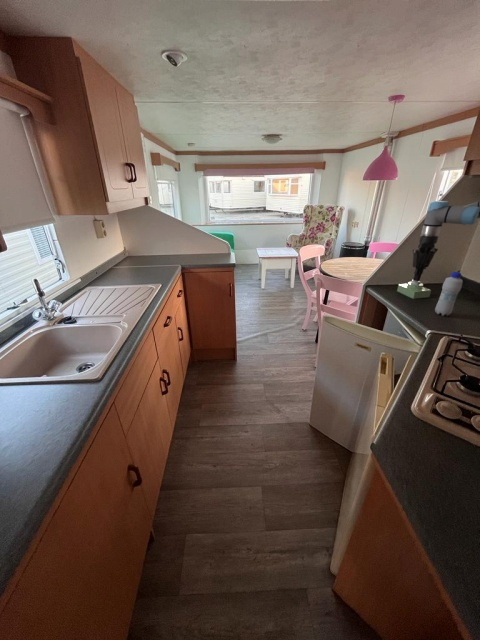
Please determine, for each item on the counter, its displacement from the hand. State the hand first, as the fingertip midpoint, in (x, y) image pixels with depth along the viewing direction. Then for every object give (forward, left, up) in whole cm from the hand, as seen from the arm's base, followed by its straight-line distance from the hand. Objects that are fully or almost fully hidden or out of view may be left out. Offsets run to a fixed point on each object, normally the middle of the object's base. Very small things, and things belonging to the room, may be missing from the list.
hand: (416, 280), depth 143 cm
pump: (0, 0, -3) cm, 3 cm away
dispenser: (0, 0, -8) cm, 8 cm away
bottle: (-25, +6, -8) cm, 27 cm away
